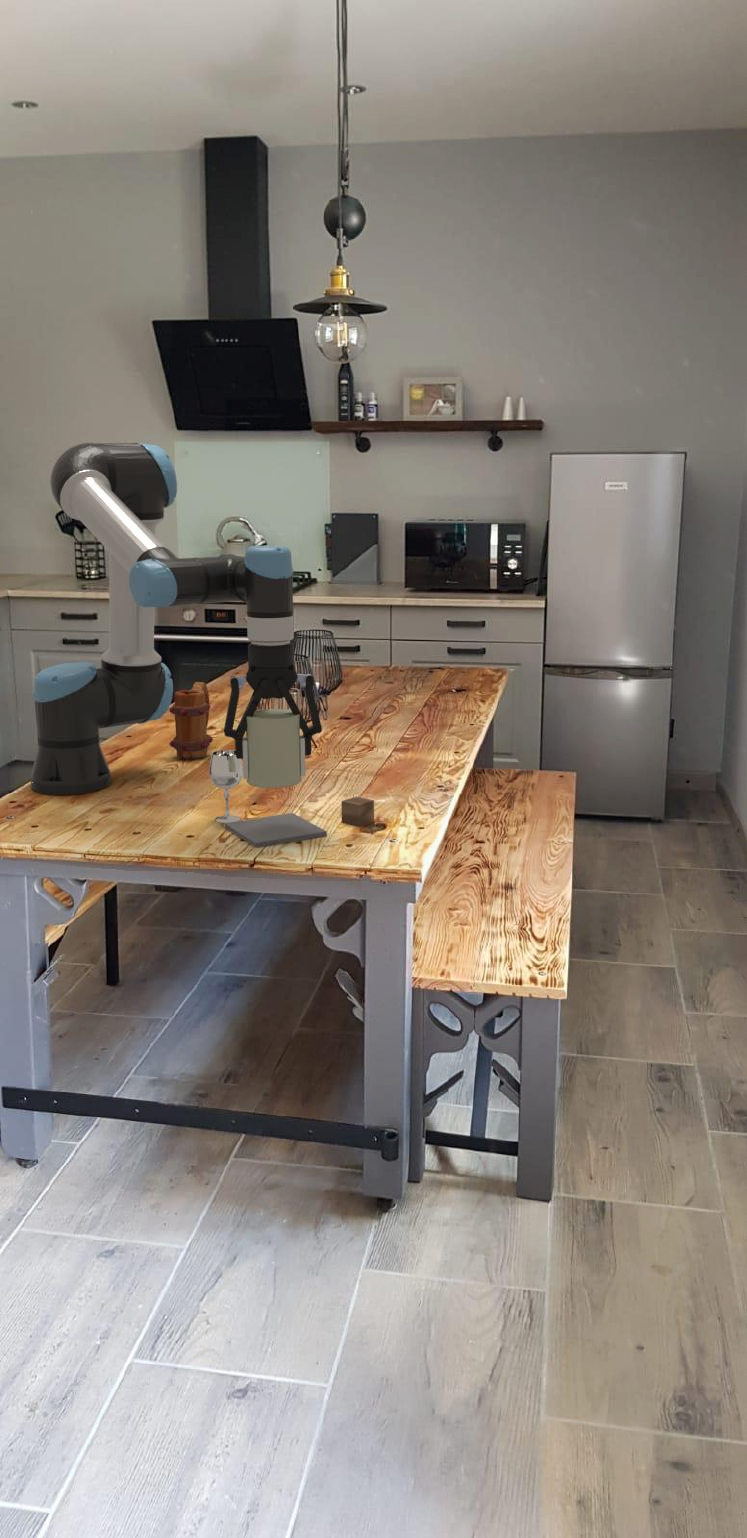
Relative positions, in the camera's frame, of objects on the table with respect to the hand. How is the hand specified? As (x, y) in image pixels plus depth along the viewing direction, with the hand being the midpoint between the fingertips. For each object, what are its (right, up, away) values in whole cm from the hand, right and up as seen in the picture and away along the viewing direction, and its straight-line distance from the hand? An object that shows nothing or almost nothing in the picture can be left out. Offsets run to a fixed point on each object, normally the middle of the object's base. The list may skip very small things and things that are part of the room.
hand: (274, 775), depth 205 cm
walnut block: (+14, -8, +8) cm, 18 cm away
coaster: (0, -10, +2) cm, 10 cm away
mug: (-22, +4, +59) cm, 63 cm away
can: (0, -1, 0) cm, 1 cm away
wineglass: (-9, -8, +10) cm, 16 cm away
